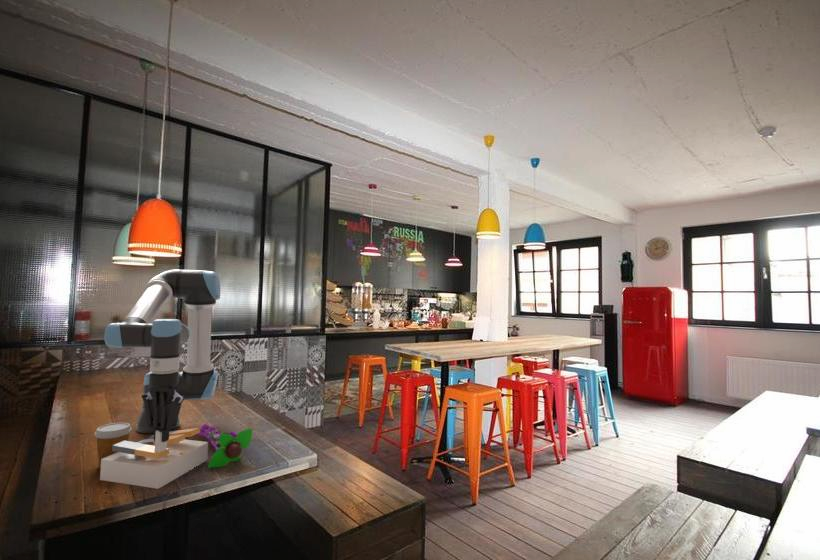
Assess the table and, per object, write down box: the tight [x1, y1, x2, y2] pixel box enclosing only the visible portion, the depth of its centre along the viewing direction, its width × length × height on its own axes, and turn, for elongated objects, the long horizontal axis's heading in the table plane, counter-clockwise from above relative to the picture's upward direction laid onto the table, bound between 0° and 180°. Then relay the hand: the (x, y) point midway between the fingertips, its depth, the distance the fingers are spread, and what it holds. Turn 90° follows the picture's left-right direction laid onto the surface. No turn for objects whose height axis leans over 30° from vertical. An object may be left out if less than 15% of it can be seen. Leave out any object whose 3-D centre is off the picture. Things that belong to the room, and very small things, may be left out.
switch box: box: [99, 438, 209, 489], centre depth 125 cm, size 20×20×8 cm
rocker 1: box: [112, 440, 169, 459], centre depth 119 cm, size 16×4×2 cm, turn 79°
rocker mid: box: [136, 434, 186, 446], centre depth 125 cm, size 16×4×2 cm, turn 79°
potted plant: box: [198, 423, 253, 469], centre depth 141 cm, size 12×16×35 cm
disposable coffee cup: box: [94, 422, 133, 469], centre depth 127 cm, size 10×10×12 cm
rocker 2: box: [148, 427, 201, 439], centre depth 132 cm, size 16×4×2 cm, turn 79°
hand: (160, 452), depth 117 cm, fingers closed
